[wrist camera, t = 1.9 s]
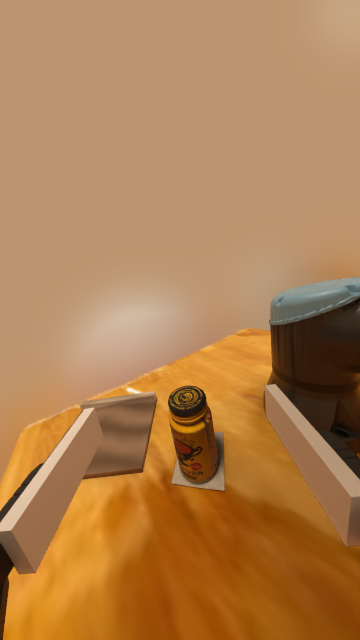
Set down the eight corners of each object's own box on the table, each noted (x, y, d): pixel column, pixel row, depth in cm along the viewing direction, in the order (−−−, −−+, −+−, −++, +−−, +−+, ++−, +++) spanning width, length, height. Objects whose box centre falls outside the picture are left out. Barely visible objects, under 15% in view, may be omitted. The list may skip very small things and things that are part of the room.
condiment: (171, 484, 24) (154, 414, 21) (183, 431, 32) (172, 375, 29) (224, 492, 22) (214, 417, 19) (223, 433, 30) (215, 374, 27)
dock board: (142, 472, 26) (139, 460, 25) (31, 485, 27) (26, 474, 26) (157, 399, 42) (155, 391, 41) (86, 408, 42) (83, 401, 42)
